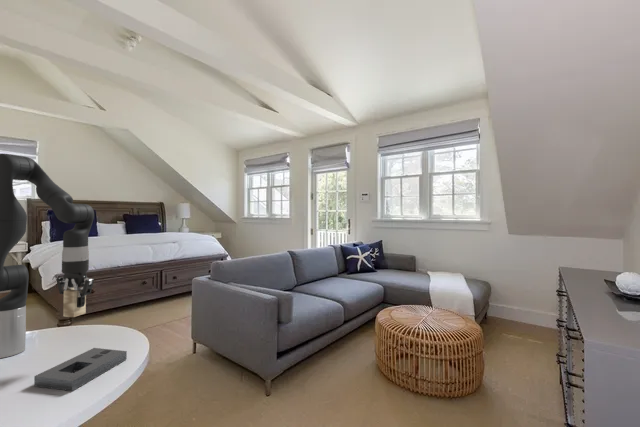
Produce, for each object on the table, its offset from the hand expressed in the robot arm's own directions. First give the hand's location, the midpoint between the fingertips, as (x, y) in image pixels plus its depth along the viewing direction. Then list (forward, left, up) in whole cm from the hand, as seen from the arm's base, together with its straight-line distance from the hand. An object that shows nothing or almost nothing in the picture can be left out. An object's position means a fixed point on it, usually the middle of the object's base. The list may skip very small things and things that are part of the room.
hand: (74, 306), depth 107 cm
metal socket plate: (+10, -5, -20) cm, 23 cm away
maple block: (0, 0, -3) cm, 3 cm away
